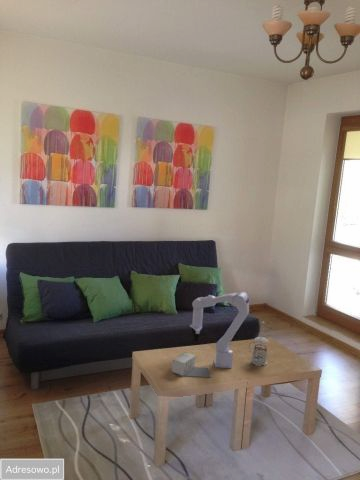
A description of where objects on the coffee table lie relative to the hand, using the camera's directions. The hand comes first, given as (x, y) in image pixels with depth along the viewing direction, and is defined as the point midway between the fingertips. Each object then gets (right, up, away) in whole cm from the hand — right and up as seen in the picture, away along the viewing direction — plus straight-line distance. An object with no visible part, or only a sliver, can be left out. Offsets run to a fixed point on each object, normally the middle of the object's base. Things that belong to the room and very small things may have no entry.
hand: (195, 341), depth 244 cm
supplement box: (-4, -8, -10) cm, 14 cm away
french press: (+36, -13, +2) cm, 39 cm away
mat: (-2, -13, -16) cm, 21 cm away
